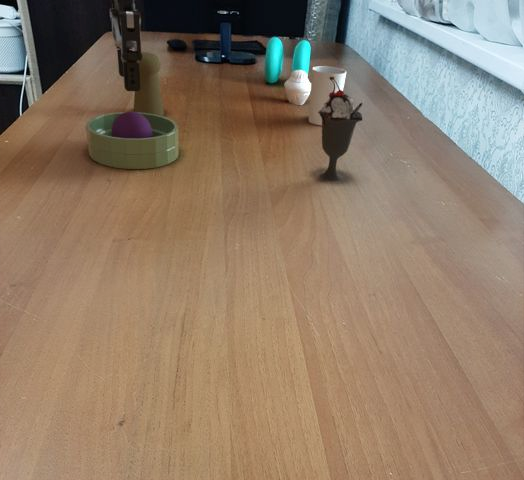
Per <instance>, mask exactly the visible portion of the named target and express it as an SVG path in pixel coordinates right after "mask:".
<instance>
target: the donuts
mask: <svg viewBox="0 0 524 480" xmlns="http://www.w3.org/2000/svg"><path fill="white" fill-rule="evenodd" d="M311 47H312V46H311V44H310V42H309V41H308V40H306V39H302V40H300V41H299V42H298V43H297V44H296V46H295V48H294V50H293V56H292V62H291V63H292V64H291V73H292V72H293V71H295V70H299V69H300V70H303V71H305V72H306V73H307V77H308V76H309V69H310V61H311V51H312V50H311ZM265 49H266V50H265V58H264V79H265V80H266V82H267V83H269V84H274V83H277V82H278V80H280V77H281V75H282V71H283V65H284V53H285V52H284V51H285V50H284V44H283V42H282V41H281V39H280V38H279V37H277V36H273V37H271V38H270V39H269V40H268V42H267V44H266V48H265Z"/></svg>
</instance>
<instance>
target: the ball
mask: <svg viewBox="0 0 524 480" xmlns="http://www.w3.org/2000/svg"><path fill="white" fill-rule="evenodd" d="M124 112H125V113H122V114H120V115H119V116H118V117H117V118H116V119H115V121H114V122H113V125H112V137H119V138H138V139H140V138H151V137H152V136H153V135H152V128H151V125H150V123H149V122H148V120H147V119H146V118H145V117H144V116H142V115H141V114H139V113H136V112H133V111H124Z"/></svg>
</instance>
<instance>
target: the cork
mask: <svg viewBox="0 0 524 480" xmlns="http://www.w3.org/2000/svg"><path fill="white" fill-rule="evenodd" d="M141 54H142V58H141V61H140V63H139V72H140V90H139V91H134V95H133V111H132V112H141V113H149V114H155V115H160V116H164V115H165V110H164V105H163V98H162V91H161V83H160V79H159V72H160V71H161V60H160V57H159V56H158V55H157V54H155V53H152V52H145V51H143V52H142V51H141Z"/></svg>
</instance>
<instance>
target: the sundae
mask: <svg viewBox="0 0 524 480" xmlns="http://www.w3.org/2000/svg"><path fill="white" fill-rule="evenodd" d="M332 79H333V80H334V77H330V80H331V81H332V82H333V80H332ZM334 81H335V80H334ZM335 82H336V81H335ZM333 83H334V82H333ZM336 85H337V87H338V89H339V86H338V84H337V82H336ZM334 91H335V83H334V90H333V92H332V93H330V94H329V98H330V99H329V100H328V101H327V102H326V103H324V106H323V107H322V110H320V111H319V112H318V113H319V114H320V116H321V118H322V126H321V146H322V150H323V152H324V154H326V155H327V156H328V158H329V160H328V166H327V169H326V170H325V171H324V172H321V173H319V174H318V176H319V178H321V179H322V180H324V181H328V182H339V181H342V180H343V177H342V176H341V174H339V173H338V172H337V163H338V159H339V158H340V157H343V156H344V155H345V154H346V153H347V152H348V150H349V147H350V145H351V142H352V138H353V135H354V131H355V128H356V126H357V123H358V122H362V121H363V115H362V113H361V112H359V110H360V109H361V108H362V106H363V102H360V103H359V104H358V105H357V107H355V106H354V100H353V99H352V97H350V95H348V94H346V93H345V92H344V90H343V91H342V90H340V89H339V91H337V92H336V93H335V92H334ZM354 107H355V108H354Z"/></svg>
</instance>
